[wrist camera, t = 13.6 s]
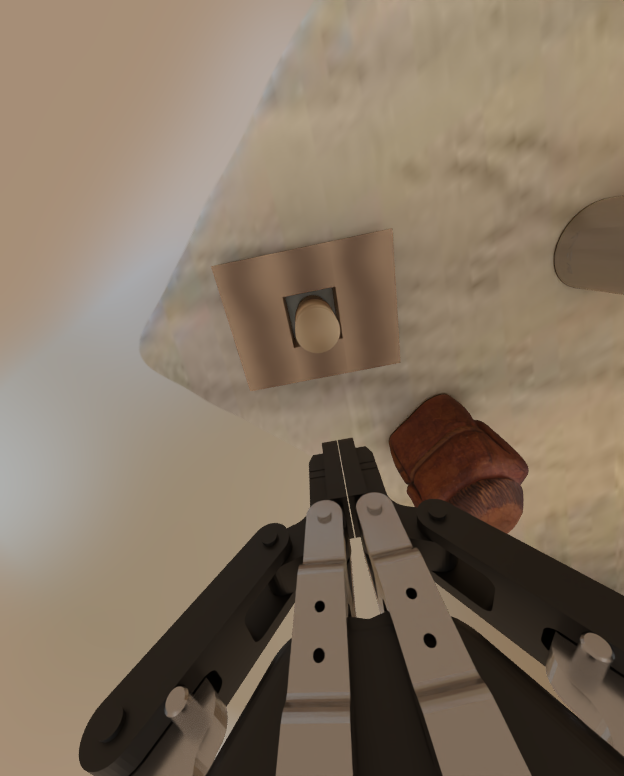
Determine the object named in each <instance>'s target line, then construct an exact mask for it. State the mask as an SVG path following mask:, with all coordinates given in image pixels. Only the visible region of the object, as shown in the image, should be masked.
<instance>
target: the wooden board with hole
mask: <svg viewBox="0 0 624 776" xmlns="http://www.w3.org/2000/svg"><path fill="white" fill-rule="evenodd" d="M211 267H212V271H213V274H214V277H215V280H216V283H217V286H218V290H219V293H220V296H221V299H222V302H223V306H224V309H225V312H226V315H227V318H228V321H229V325H230V328H231V331H232V334H233V337H234V341H235V344H236V347H237V350H238V353H239V356H240V360H241V363H242V366H243V369H244V372H245V376H246V379H247V382H248V385H249V388H250V391H254V390H259V389H265V388H270V387H275V386H280V385H286V384H291V383H296V382H301V381H307V380H312V379H317V378H322V377H328V376H333V375H338V374H343V373H348V372H354V371H359V370H364V369H369V368H375V367H380V366H385V365H390V364H396V363H400V347H399V331H398V314H397V298H396V281H395V265H394V248H393V232H392V229H387V230H382V231H377V232H373V233H368V234H363V235H358V236H354V237H349V238H344V239H339V240H335V241H330V242H325V243H320V244H316V245H311V246H306V247H301V248H297V249H292V250H287V251H282V252H278V253H273V254H268V255H263V256H259V257H254V258H249V259H244V260H240V261H235V262H230V263H225V264H221V265H216V266H211ZM330 287H332V290H333V296H334V303H335V310H336V316H337V320H338V323H339V326H340V336H339V339H338V341H337V343H336V344H335V345H334V346H333V347H332V348H331V349H330V350H328V351H326V352H323V353H312V352H309V351H307V350H305V349H304V348H302V347H301V346H300V344H299V343H298V341H297V339H296V338H294V335H293V330H292V326H291V321H290V317H289V312H288V308H287V303H286V299H285V297H286V296H291V295H296V294H301V293H306V292H311V291H316V290H320V289H325V288H330Z"/></svg>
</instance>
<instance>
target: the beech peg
mask: <svg viewBox="0 0 624 776" xmlns="http://www.w3.org/2000/svg"><path fill="white" fill-rule="evenodd" d="M295 321H296V323H295V335H296V339H297V341H298V343H299V344H300V346H301V347H302V348H304V349H305V350H307V351H309V352H312V353H323V352H326V351H328V350H330V349H331V348H332V347H333V346H334V345H335V344H336V343H337V341H338V339H339V336H340V326H339V323H338V320H337V319H336V317H335V315H334V313H333V311H332V309H331V307H330V305H329V304H328V303H327V302H326V301H324V300H323V299H322V298H321V297H319V296H316V295H309V296H306V297H305V298H303V299H302V300H301V301H300V303H299V305H298V308H297V310H296V314H295Z"/></svg>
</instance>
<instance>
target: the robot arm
mask: <svg viewBox="0 0 624 776" xmlns="http://www.w3.org/2000/svg"><path fill="white" fill-rule="evenodd" d="M555 269H556V272H557V274H558V277H559V278H560V279H561V280H562V282H563V283H565V284H566V285H568V286H571V287H574V288H580V289H587V290H595V291H602V292H608V293H615V294H623V295H624V196H618V197H612V198H607V199H602V200H600V201H597V202H595V203H593V204H591V205H589V206H588V207H586V208H585V209H583V210H582V211H581V212H580V213H579V214H578V215H576V216H575V217H574V219H573V220H572V221H571V222H570V223H569V224H568V226H567V227H566V229H565V230H564V232H563V234H562V235H561V238H560V240H559V242H558V244H557V248H556V252H555ZM338 444H339V449H340V455H341V460H342V466H343V471H344V477H345V482H346V487H347V493H348V498H349V503H350V509H351V514H352V520H353V524H354V530H355V535H356V538H357V537H361V541H362V545H363V551H364V557H365V560H366V564H367V567H368V571H369V574H370V578H371V581H372V585H373V588H374V592H375V595H376V599H377V602H378V606H379V610H380V615H377V616H375V617H373V618H371V619H362V618H356V611H355V599H354V586H353V574H352V561H351V546H350V539H351V538H354V534H353V528H352V523H351V517H350V512H349V506H348V501H347V496H346V489H345V484H344V478H343V473H342V467H341V462H340V456H339V451H338V445H337V441H331V442H325V443H322V448H323V454H318V455H313V456H312V458H311V460H310V462H309V478H310V509H309V510H308V512H307V516H306V517H305V518H304V519H303V520H302V521H300V522H299V523H297V524H295V525H293V526H291V527H289V528H286V527H285V526H284V525H282V524H278V523H272V524H268V525H266V526H264V527H262V528H261V529H260V530H258V531H257V533H256V534H255V535H254V536H253V537H252V538H251V539H250V540H249V541H248V542H247V544H246V545H245V546H244V547H243V548H242V549H241V550H240V551H239V553H237V555H236V556H235V557H234V558H233V559H232V560H231V561H230V562H229V563H228V564H227V566H226V567H225V568H224V569H223V570H222V571H221V572H220V574H218V576H217V577H216V578H215V579H214V580H213V581H212V582H211V583H210V584H209V585H208V587H207V588H206V589H205V590H204V591H203V592H202V593H201V594H200V595H199V596H198V598H197V599H196V600H195V601H194V602H193V603H192V604H191V605H190V607H189V608H188V609H187V610H186V611H185V612H184V613H183V614H182V615H181V616H180V617H179V619H178V620H177V621H176V622H175V623H174V624H173V625H172V626H171V627H170V628H169V630H168V631H167V632H166V633H165V634H164V635H163V636H162V637H161V639H159V641H158V642H157V643H156V644H155V645H154V646H153V647H152V648H151V649H150V650H149V652H148V653H147V654H146V655H145V656H144V657H143V658H142V659H141V660H140V662H139V663H138V664H137V665H136V666H135V667H134V668H133V669H132V670H131V671H130V673H129V674H128V675H127V676H126V677H125V678H124V679H123V680H122V681H121V683H120V684H119V685H118V686H117V687H116V688H115V689H114V690H113V691H112V692H111V694H110V695H109V696H108V697H107V698H106V699H105V700H104V701H103V702H102V703H101V705H100V706H99V707H98V708H97V710H96V711H95V713H94V714H93V715H92V717H91V719H90V720H89V722H88V724H87V726H86V728H85V731H84V733H83V736H82V739H81V742H80V748H79V761H80V764H81V766H82V768H83V769H84V770H86V771H87V772H89V773H90V774H92V775H94V776H624V596H623V595H621V594H619V593H617V592H616V591H614V590H612V589H610V588H608V587H606V586H604V585H602V584H600V583H599V582H597V581H595V580H593V579H591V578H589V577H587V576H585V575H584V574H582V573H580V572H578V571H576V570H574V569H572V568H570V567H568V566H567V565H565V564H563V563H561V562H559V561H557V560H555V559H553V558H552V557H550V556H548V555H546V554H544V553H542V552H540V551H538V550H536V549H535V548H533V547H531V546H529V545H527V544H525V543H523V542H521V541H520V540H518V539H516V538H514V537H512V536H510V535H508V534H506V533H504V532H503V531H501V530H499V529H497V528H495V527H493V526H491V525H489V524H488V523H486V522H484V521H482V520H480V519H478V518H476V517H474V516H472V515H471V514H469V513H467V512H465V511H463V510H461V509H459V508H457V507H456V506H454V505H452V504H450V503H448V502H446V501H444V500H440V499H427V500H425V501H423V502H421V503H420V504H419V506H418V507H408V506H403V505H400V504H397V503H395V502H394V501H392V500H391V499H390V498H389V497H388V495H387V493H386V491H385V488H384V485H383V482H382V479H381V476H380V473H379V470H378V468H377V465H376V462H375V459H374V456H373V453H372V452H371V451H370V450H369V449H368V448H367V447H366V446H364V447H359V448H355V445H354V441H353V438H348V439H342V440H338ZM435 582H436V583H437V584H438V585H440V586H441V587H442V588H444V589H445V590H446V591H447V592H449V593H450V594H451V595H453V596H454V597H455V598H457V599H458V600H459V601H460V602H462V603H463V604H464V605H466V606H467V607H468V608H470V609H471V610H472V611H474V612H475V613H476V614H478V615H479V616H480V617H481V618H483V619H484V620H485V621H486V622H488V623H489V624H490V625H492V626H493V627H494V628H496V629H497V630H498V631H500V632H501V633H502V634H504V635H505V636H506V637H507V638H509V639H510V640H511V641H513V642H514V643H515V644H517V645H518V646H519V647H520V648H522V649H523V650H524V651H526V652H527V653H528V654H530V655H531V656H533V657H534V658H535V659H536V660H537V661H539V662H540V663H541V664H543V665H544V666H545V667H546V673H547V676H548V679H549V681H550V683H551V685H552V687H553V689H554V691H555V692H556V693H557V695H558V696H559V697H560V698H561V699H562V701H563V702H564V703H565V704H566V705H567V706H568V707H569V708H570V709H571V710H572V711H573V712H575V713H576V715H577V716H578V717H579V718H580V719H579V718H578V717H577V716H576V715H575V714H573V713H572V712H571V711H570V710H569V709H568V708H566V707H565V706H564V705H563V704H562V703H560V702H559V701H558V700H557V699H556V698H555V697H553V696H552V695H551V694H550V693H549V692H548V691H546V690H545V689H544V688H543V687H542V686H540V685H539V684H538V683H537V682H536V681H535V680H534V679H532V678H531V677H530V676H529V675H528V674H526V673H525V672H524V671H523V670H522V669H521V668H519V667H518V666H517V665H516V664H515V663H514V662H512V661H511V660H510V659H509V658H508V657H507V656H505V655H504V654H503V653H502V652H501V651H500V650H498V649H497V648H496V647H495V646H494V645H492V644H491V643H490V642H489V641H488V640H487V639H485V638H484V637H483V636H482V635H481V634H480V633H478V632H477V631H475V629H473V628H472V627H470V626H469V625H467V624H466V623H464V622H462V621H460V620H459V619H457V618H454V617H451V616H450V614H449V612H448V610H447V608H446V606H445V603H444V601H443V599H442V597H441V595H440V593H439V591H438V589H437V587H436V584H435ZM294 603H295V609H294V620H293V632H292V638H291V639H290V640H289V641H288V642H287V643H286V644H285V645H284V646H283V647H282V648H281V649H280V651H279V652H278V653H277V655H276V656H275V657H274V659H273V661H272V662H271V664H270V666H269V667H268V669H267V671H266V673H265V674H264V676H263V678H262V679H261V681H260V683H259V685H258V686H257V688H256V690H255V691H254V693H253V695H252V697H251V699H250V700H249V702H248V703H247V705H246V707H245V709H244V710H243V712H242V714H241V716H240V717H239V719H238V721H237V722H236V724H235V726H234V727H233V729H232V731H231V733H230V734H229V736H228V738H227V739H226V741H225V743H224V745H223V746H222V748H221V750H220V752H219V753H218V755H217V757H216V758H215V756H216V754H217V752H218V750H219V748H220V746H221V744H222V742H223V739H224V737H225V733H226V729H227V719H228V716H227V708H226V706H227V705H228V703H229V702H230V700H231V699H232V697H233V696H234V694H235V693H236V691H237V690H238V688H239V687H240V685H241V684H242V682H243V681H244V679H245V678H246V676H247V674H248V673H249V671H250V670H251V668H252V667H253V665H254V664H255V662H256V661H257V659H258V658H259V656H260V655H261V653H262V652H263V650H264V649H265V647H266V646H267V644H268V642H269V641H270V639H271V638H272V636H273V635H274V633H275V632H276V630H277V629H278V627H279V626H280V624H281V623H282V621H283V620H284V618H285V617H286V615H287V614H288V612H289V610H290V609H291V607H292V606H293V604H294ZM214 759H215V760H214Z"/></svg>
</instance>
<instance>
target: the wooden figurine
mask: <svg viewBox="0 0 624 776" xmlns="http://www.w3.org/2000/svg"><path fill="white" fill-rule="evenodd" d="M389 445H390V450H391V455H392V458H393V461H394V463H395V466H396V468H397V470H398V472H399V473H400V475H401V477H402V478H403V480H404V482H405V483H406V484H408V487H407V494H408V495H409V497H410V498H411V500H412V502H413V504H414V506H415V507H418V506H419V504H420V503H421V502H423V501H425V500H427V499H440V500H444V501H446V502H448V503H450V504H452V505H454V506H456V507H457V508H459V509H461V510H463V511H465V512H467V513H469V514H471V515H472V516H474V517H476V518H478V519H480V520H482V521H484V522H486V523H488V524H489V525H491V526H493V527H495V528H497V529H499V530H501V531H503V532H504V533H506V534H507V533H509V532H510V531H511V530H512V529H513V528H514V527H515V525H516V524H517V522H518V521H519V519H520V517H521V515H522V513H523V490H522V487H521V484H522V482H523V481H524V479H525V478H526V476H527V475H528V466H527V464H526V462H525V461H524V459H523V458H522V457H521V456H520V455H519V454H518V453H517V452H516V451H515V450H514V449H513V448H512V447H511V446H510V445H509V444H508V443H507V442H506V441H505V440H504V439H502V438H501V437H500V436H499V435H498V434H497V433H496V432H494V431H493V430H492V429H491V428H490V427H489V426H488V425H486V424H485V423H483V422H482V421H479V420H473V419H472V417H471V415H470V413H469V412H468V411H467V410H466V409H465V408H464V407H463V406H462V405H461V404H460V403H458V402H457V401H456V400H455V399H453V398H452V397H451V396H449V395H446V394H445V395H438V396H435V397H433V398H431V399H429V400H427V401H426V402H425V403H423V404H422V405H421V406H420V407H419V408H418V409H417V410H416V411H415V412H414V413H413V414H412V415H411V416H410V417H409V418H408V420H406V421H405V422H404V423H403V424H402V425H401V426H400V427H399V428H398V429H397V430H396V431H395V432H394V433H393V434H392V435H391V437H390V441H389Z"/></svg>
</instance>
